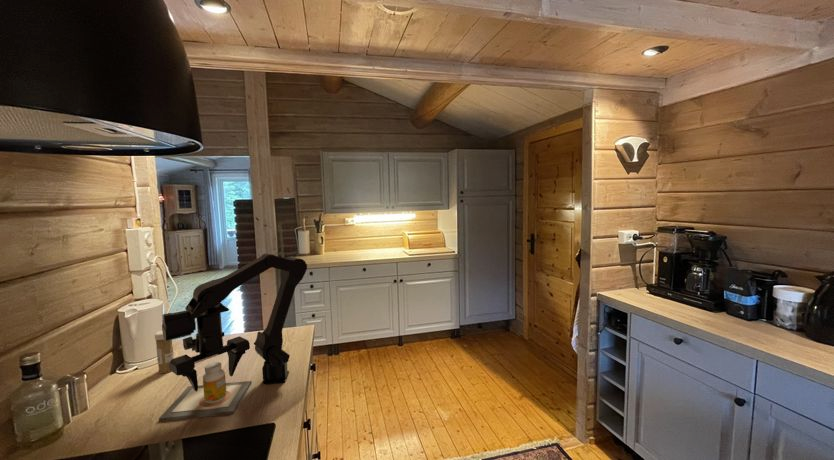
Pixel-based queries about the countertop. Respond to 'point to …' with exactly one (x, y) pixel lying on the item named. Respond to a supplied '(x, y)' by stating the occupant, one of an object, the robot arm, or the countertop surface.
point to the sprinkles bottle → (163, 352)
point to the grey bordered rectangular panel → (195, 405)
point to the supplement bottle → (214, 383)
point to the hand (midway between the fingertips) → (214, 383)
